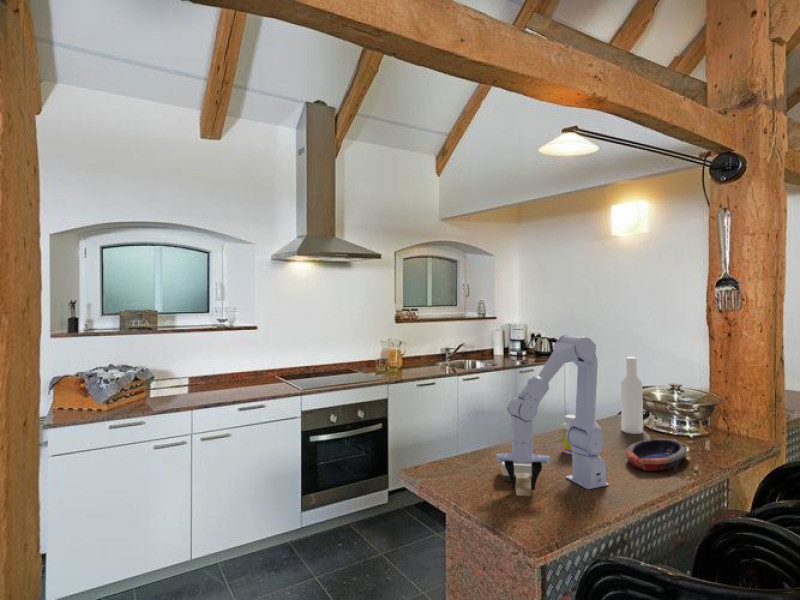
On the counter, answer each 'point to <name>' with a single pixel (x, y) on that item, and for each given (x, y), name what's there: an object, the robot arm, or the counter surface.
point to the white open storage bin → (517, 469)
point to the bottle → (631, 400)
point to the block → (523, 484)
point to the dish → (656, 454)
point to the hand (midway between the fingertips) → (523, 487)
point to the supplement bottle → (566, 445)
